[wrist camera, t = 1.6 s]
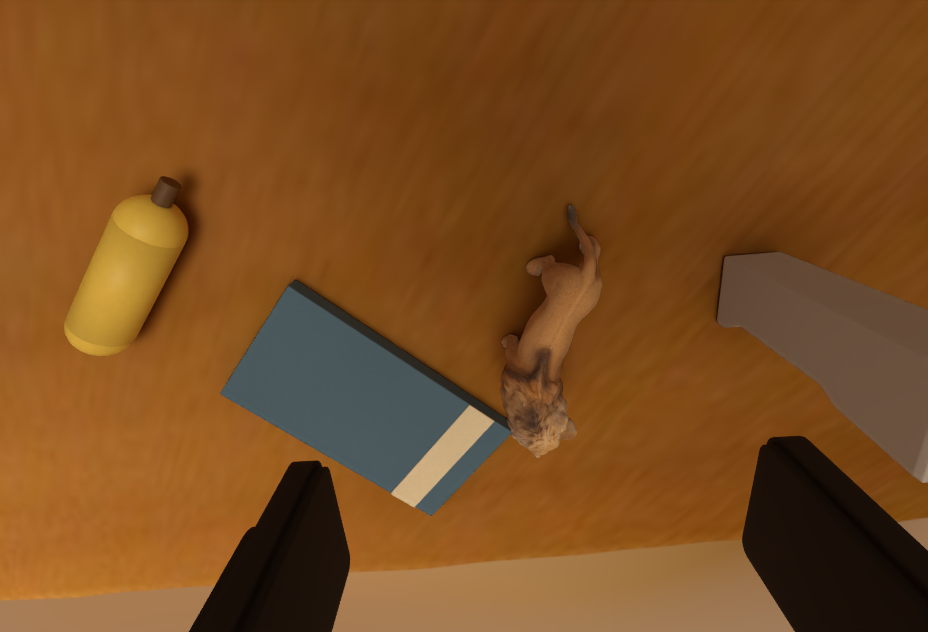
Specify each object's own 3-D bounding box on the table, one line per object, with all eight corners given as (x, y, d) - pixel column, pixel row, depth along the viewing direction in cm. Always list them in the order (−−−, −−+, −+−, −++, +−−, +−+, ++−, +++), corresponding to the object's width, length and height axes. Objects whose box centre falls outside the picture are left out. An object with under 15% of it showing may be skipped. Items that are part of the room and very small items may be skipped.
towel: (229, 384, 37) (218, 394, 35) (295, 279, 33) (287, 286, 32) (433, 503, 41) (431, 517, 39) (511, 421, 37) (512, 433, 36)
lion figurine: (555, 395, 36) (579, 474, 28) (489, 385, 36) (493, 462, 28) (605, 209, 31) (654, 239, 22) (528, 196, 31) (548, 221, 22)
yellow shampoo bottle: (138, 354, 36) (96, 381, 32) (85, 324, 35) (36, 348, 31) (220, 197, 31) (184, 207, 27) (162, 158, 30) (116, 162, 26)
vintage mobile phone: (714, 321, 34) (1248, 743, 10) (722, 255, 32) (1392, 589, 9) (766, 317, 33) (1431, 738, 10) (777, 250, 32) (1619, 579, 8)
